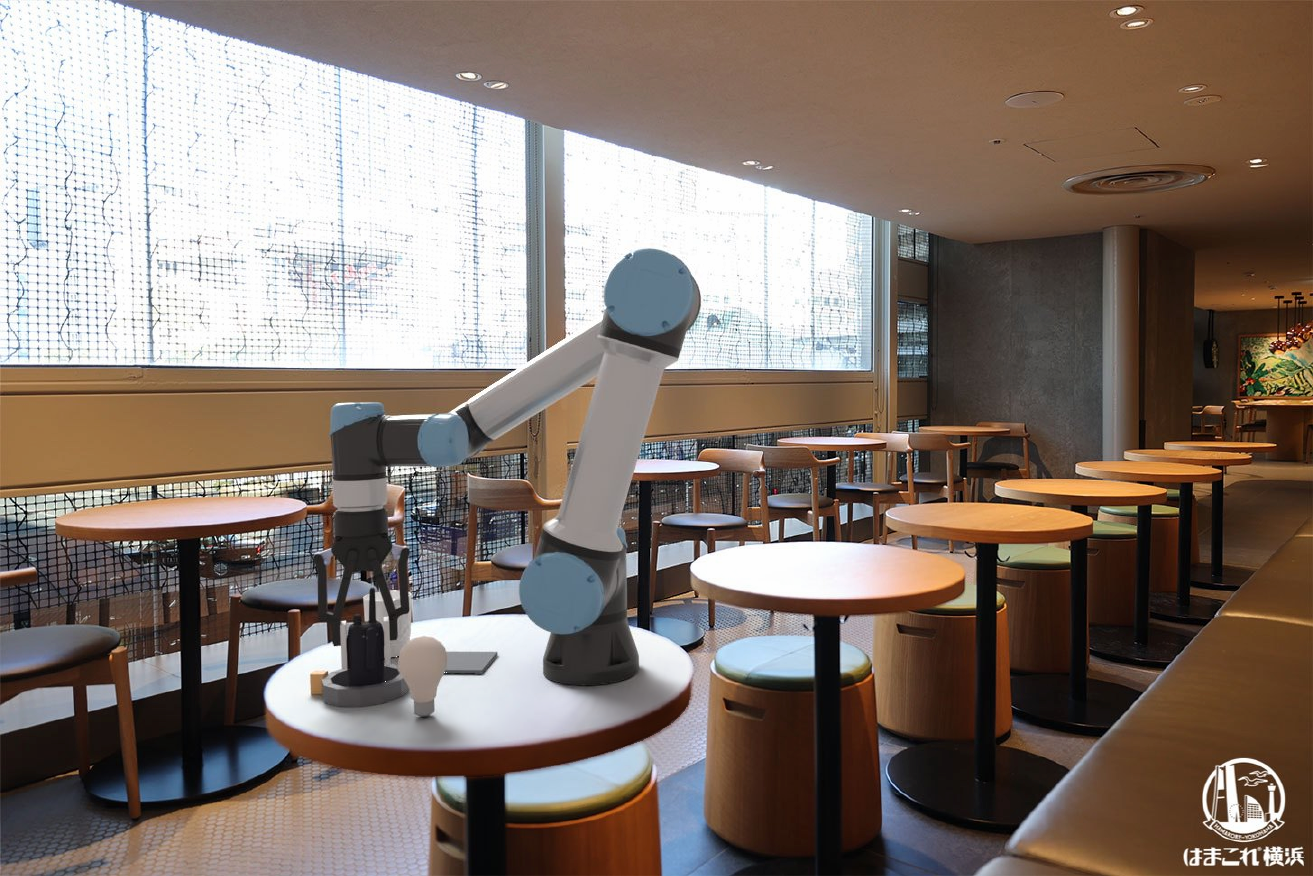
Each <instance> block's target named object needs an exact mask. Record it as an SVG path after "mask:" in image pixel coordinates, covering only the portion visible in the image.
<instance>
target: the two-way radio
mask: <svg viewBox="0 0 1313 876" xmlns="http://www.w3.org/2000/svg"><path fill="white" fill-rule="evenodd" d="M375 592H376V589H375V588H374V587H371V588H370V589H369V593H368V594H369V621H365V620H364V621H363V619H362V615H361V614H359V613H356V614H354V615H353V619H352V623H351V624H349V626H348V630H347V672H348V687H362V686H369V685H375V684H381V683H383V682H384V664H385V659H384V630H383V626H382V624H381V623H380V622H379V621H377V620H376V601H375Z"/></svg>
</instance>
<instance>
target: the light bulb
mask: <svg viewBox="0 0 1313 876" xmlns="http://www.w3.org/2000/svg"><path fill="white" fill-rule="evenodd" d="M446 652H447V650H446V647H445V646H444V645H443V643H442V642H441V641H439V639H436V638H435V637H432V636H427V635H423V636H418V637H415V638H412V639H410V641H409V642H408V643H406V644H405V645H404V647H403V648H402V650H401V651H400V655H399V657H398V662H397V665H398V666H399V670H400V674H401V675H402V677H403V678H404V680H405V682H406V683H407V685H408V687H409V691H410V697H411V699H412V701H413V713H414V715H417V716H419V717H421V718H427V717H428V716H430V715H432V714H433V713H434V712H435V709H436V708H435V698H436V697H437V693H438V692H437V691H438V687H439V685H440V682H441V680H442V678H443V675H445V674H444V672H445V670H446V666H447V660H448V659H447V654H446Z"/></svg>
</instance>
